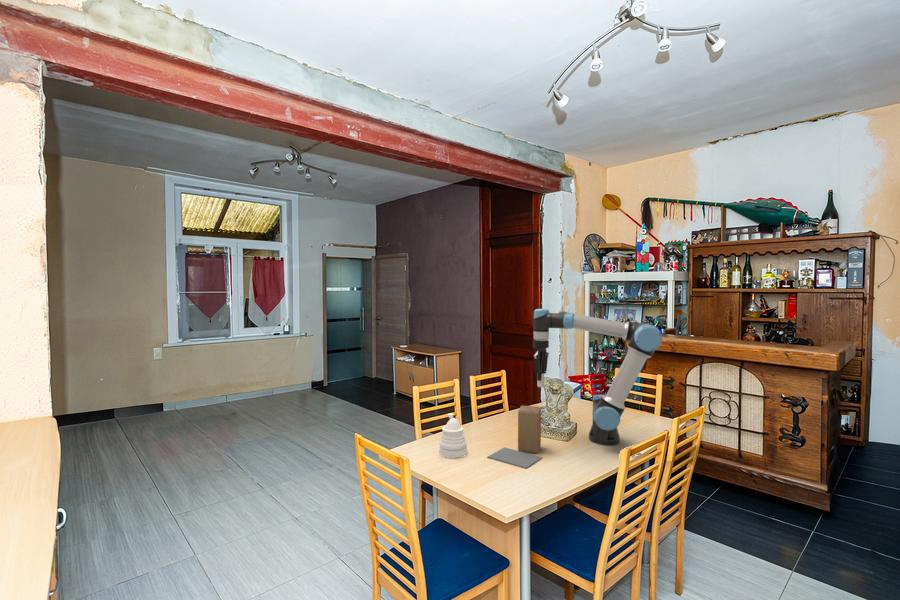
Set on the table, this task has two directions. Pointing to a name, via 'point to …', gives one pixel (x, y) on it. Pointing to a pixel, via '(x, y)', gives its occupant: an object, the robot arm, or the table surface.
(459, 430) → the honey pot
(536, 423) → the wooden block
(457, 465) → the table surface
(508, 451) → the mat
